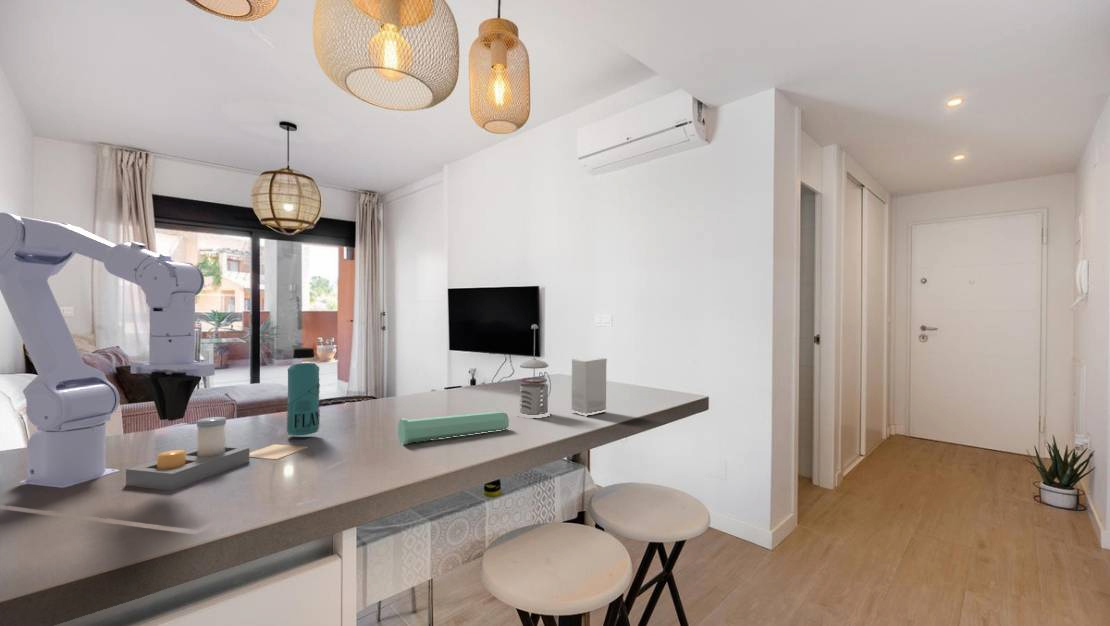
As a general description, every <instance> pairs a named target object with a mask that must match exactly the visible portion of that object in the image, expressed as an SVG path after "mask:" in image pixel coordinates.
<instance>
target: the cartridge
mask: <svg viewBox="0 0 1110 626" xmlns="http://www.w3.org/2000/svg"><path fill="white" fill-rule="evenodd" d="M226 423H227V417H225V416H212V417H205V418H204V417H203V418H201V419H197V420H196V427H197V432H196V433H197V437H196V438H197V441H196V442H197V444H196V445H197V446H196V448H197V456H199V457H213V456H216V455H219V454H222V453H225V446H226Z"/></svg>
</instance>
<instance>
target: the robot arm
mask: <svg viewBox="0 0 1110 626" xmlns="http://www.w3.org/2000/svg"><path fill="white" fill-rule="evenodd" d="M76 254H78V255H81V256H83V257H85V258H86V257H87V258H90V259H92V260H96V261H98V262H101V263H103V265H104V269H105V270H106V271H107V272H108V273H109V274H111V275H113V276H116V277H118V278H120V279H121V280H122V279H123V280H124V281H127V282H129V283H132V284H134V285H137V286H139V287H140V289H141V290H142V291H143V293H144V294H145V304H147V306H148V307H149V335H148V337H149V341H148V345H149V348H148V351H149V352H148V353H149V354H148V355H149V357H148V360H136V361H135V360H134V361H130V374H135V375H136V374H150V375H149V376H148V377H142V378H141V383H142V385H143V386H144V387H145V388H146V390H147V391H148V392H149V395H150V397H151V398H152V400H153V402H154V405H155V409H156V411H157V414H158V418H159V420H160V421H165V420H167V421H169V422H170V421H171V422H172V421H176V420H181V419H184V417H185V414H186V411H187V408H188V406H189V405H188V404H189V402H190V399H191V397H192V394H193V393H194V391H195V389H196V387H197V386H198V385H199V383H200V381H202V378H203V377H209V376H215V374H216V373H215V370H216V369H215V366H216V365H215V362H214V363H213V362H202V361H196V360H195V353H196V352H195V347H196V345H195V344H196V342H195V341H196V339H195V338H196V335H195V333H196V329H195V328H196V323H195V322H196V315H195V314H196V297H197V295H199V294H200V293H201V292H202V290H203V288H204V287H205V286H204V285H205V277H204V273H203V272H202V270H201V269H200V268H199V267H197V265H194V264H193V263H192V262H175V261H174V260H172V256H170V255H168V254H163V253H160V254H158V253H155V252H153V251H151V250H148V249H147V244H145V243H142V242H136V241H131V243H130V242H122V243H118V244H115V243H113V242H111V241H108V240H106V239H105V238H102V237H99V236H97V235H96V234H93V233H91V232H89V231H86V230H85V229H83V228H82V227H80V226H76V225H71V224H69V223H66V222H54V221H49V220H42V219H37V218H32V217H25V216H21V215H20V216H19V215H14V214H12V213H8V212H0V292H1V294H2V297H3V300H4V302H5V304H6V306H7V308H8V311H9V312H10V314H11V317H12V320H13V321H14V324H15V327H16V328H17V331H18V333H19V335H20V337H21V340H22V342H23V343H24V346H25V348H26V350H27V353H28V356H29V357H30V359H31V362H32V364H33V366H34V369H35V370H36V373H37V375H36V376H35V378H34V379H33V380H31V381H30V382H29V383H28V384H27V385H26V387H25V388H24V389H22V393H23V395H24V398H25V401H26V408H25V410H26V412H25V413H26V416H27V418H28V420H29V422H30V423H31V424H32V425H33V426H34V427H36V429H37V430H36V431H34V433H32V435H31V436H30V437H29V439H28V442H27V448H26V449H27V450H26V451H27V452H26V479H23V480H21V481H19V485H22V486H24V485H35V486H43V487H44V486H45V487H51V488H62V489H63V488H67V487H72V486H74V485H77V484H81V483H85V482H88V481H92V480H94V479H98V478H101V477H105V476H108V475H111V474H114V473H118V472H120V469H118V468H117V469H116V468H115V469H114V468H106V450H107V449H106V448H107V447H106V446H107V445H106V436H107V434H106V433H107V431H106V430H107V425H106V424H107V423H106V422H109V421H111V415H113V414H115V412H116V411H117V410H118V408H119V406H120V401H121V399H120V393H119V391H118V389H117V387H116V386H115V385H114V384H113V383H111V382H110V381H109V380H108V379H107V377H106V376H107V375H106V374H105V372H103V371H102V370H100V369H98V368H95V367H93V366H91V365H88V364H86V363H85V362H84V359H83V358H82V354H80V351H79V348H78V346H77V344H76V342H75V340H74V337H73V335H72V333H71V331H70V328H69V326H68V325H67V324H68V323H66V322H67V321H66V320H65V317H64V316H63V314H62V311H61V309H60V307H59V305H58V303H57V299H56V297H55V295H54V293H53V291H52V289H51V287H50V284H49V281H48V280H49V278H50V277H53V276H55V275H57V274H59V272H61V270H63V269H64V267H65V266H66V265H67V264H68V263H69V261H71V260H72V258H73V257H74V256H75V255H76Z"/></svg>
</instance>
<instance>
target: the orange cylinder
mask: <svg viewBox="0 0 1110 626" xmlns="http://www.w3.org/2000/svg"><path fill="white" fill-rule="evenodd" d="M186 451H187V450H184V449H175V450H168V451H163V452H160V453H158V454H157V455H156V460H157V469H163V470H170V469H174V468H177V467H180V466H183V465H186Z"/></svg>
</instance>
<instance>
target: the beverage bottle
mask: <svg viewBox="0 0 1110 626" xmlns="http://www.w3.org/2000/svg"><path fill="white" fill-rule="evenodd" d="M292 358H293V359H312V358H315V349H314V348H312V347H299V348H293V354H292ZM320 388H321V384H320V366H319V365H317V364H316V363H315V362H295V363H293V364H292V365H290V366H289V367H288V368H287V406H286V424H287V425H286V432H287V435H289V436H306V435H307V436H308V435H312V434H315V433H318V431H319V429H320V417H321V415H320V413H321V411H320V406H321V405H320V404H321V402H320V392H321V390H320Z"/></svg>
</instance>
